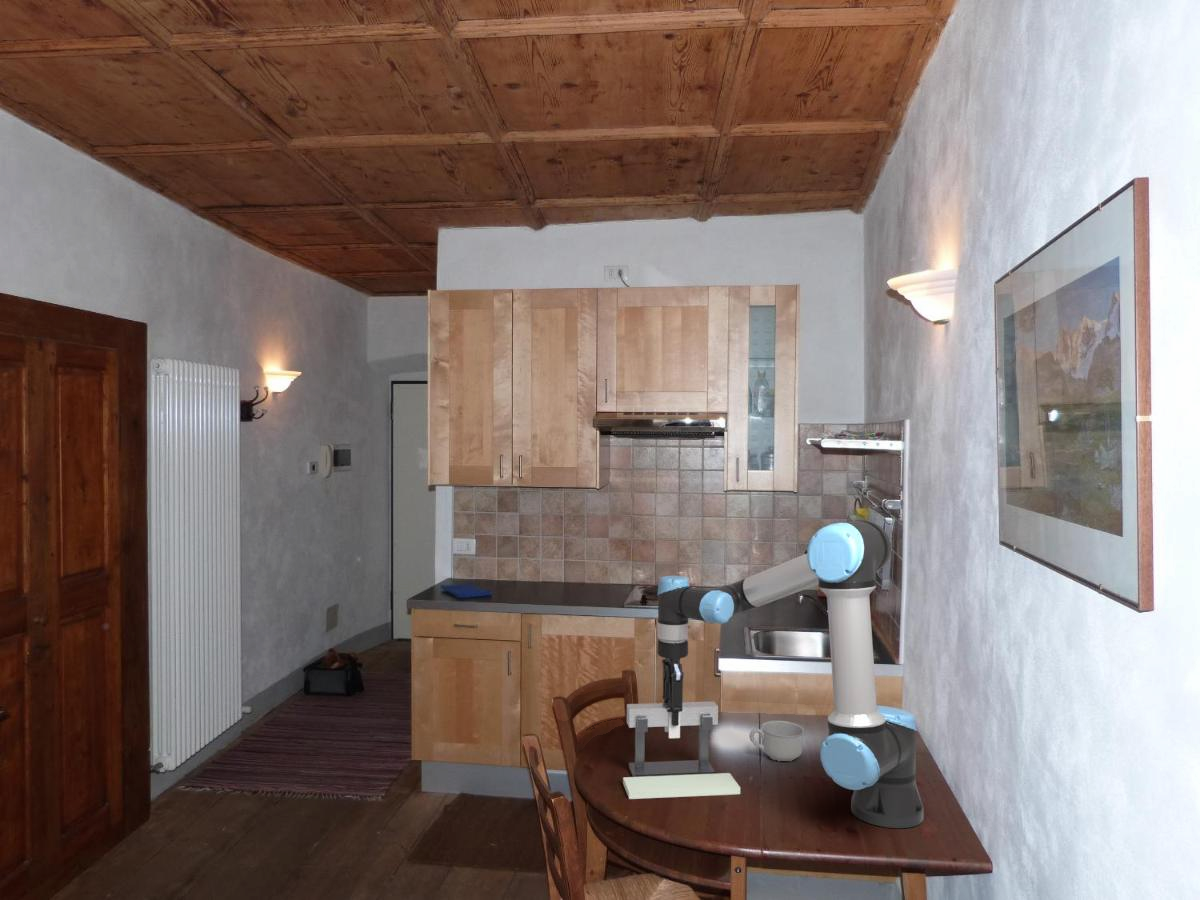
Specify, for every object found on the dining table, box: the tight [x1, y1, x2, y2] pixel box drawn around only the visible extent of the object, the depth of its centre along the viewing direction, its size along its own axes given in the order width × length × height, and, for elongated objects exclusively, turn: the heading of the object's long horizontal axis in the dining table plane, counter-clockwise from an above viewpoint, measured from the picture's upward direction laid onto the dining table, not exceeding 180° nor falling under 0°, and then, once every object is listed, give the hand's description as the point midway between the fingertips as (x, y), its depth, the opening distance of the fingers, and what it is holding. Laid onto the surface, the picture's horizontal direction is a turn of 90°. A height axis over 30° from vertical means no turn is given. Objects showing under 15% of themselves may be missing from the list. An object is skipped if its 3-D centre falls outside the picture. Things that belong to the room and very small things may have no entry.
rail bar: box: [626, 701, 719, 729], centre depth 218 cm, size 4×22×4 cm, turn 97°
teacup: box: [749, 720, 805, 762], centre depth 228 cm, size 14×11×8 cm
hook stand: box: [628, 715, 717, 777], centre depth 218 cm, size 8×20×14 cm, turn 97°
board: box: [622, 772, 741, 800], centre depth 207 cm, size 9×26×2 cm, turn 97°
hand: (672, 734), depth 218 cm, fingers closed on rail bar, 4 cm apart
